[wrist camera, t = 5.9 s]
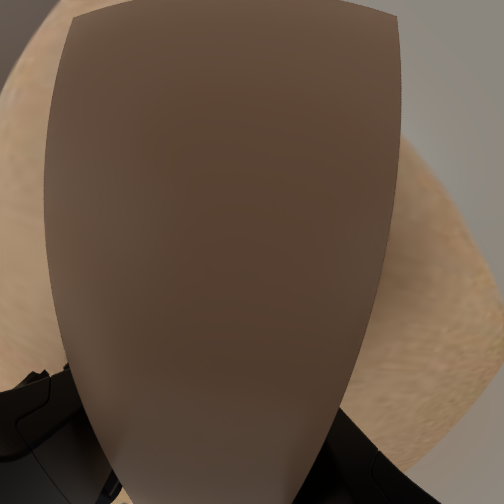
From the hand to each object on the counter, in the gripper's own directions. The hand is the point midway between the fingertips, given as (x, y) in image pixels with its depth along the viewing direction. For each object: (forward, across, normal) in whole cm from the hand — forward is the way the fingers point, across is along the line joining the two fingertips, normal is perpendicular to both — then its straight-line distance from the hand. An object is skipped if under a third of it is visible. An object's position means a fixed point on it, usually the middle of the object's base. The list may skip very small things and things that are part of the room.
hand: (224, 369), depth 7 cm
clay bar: (+1, 0, 0) cm, 1 cm away
